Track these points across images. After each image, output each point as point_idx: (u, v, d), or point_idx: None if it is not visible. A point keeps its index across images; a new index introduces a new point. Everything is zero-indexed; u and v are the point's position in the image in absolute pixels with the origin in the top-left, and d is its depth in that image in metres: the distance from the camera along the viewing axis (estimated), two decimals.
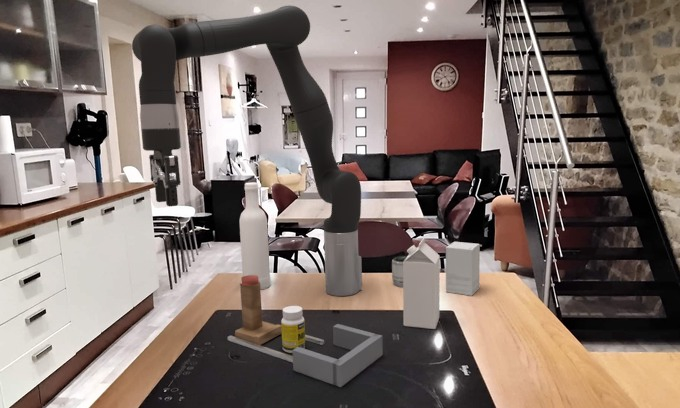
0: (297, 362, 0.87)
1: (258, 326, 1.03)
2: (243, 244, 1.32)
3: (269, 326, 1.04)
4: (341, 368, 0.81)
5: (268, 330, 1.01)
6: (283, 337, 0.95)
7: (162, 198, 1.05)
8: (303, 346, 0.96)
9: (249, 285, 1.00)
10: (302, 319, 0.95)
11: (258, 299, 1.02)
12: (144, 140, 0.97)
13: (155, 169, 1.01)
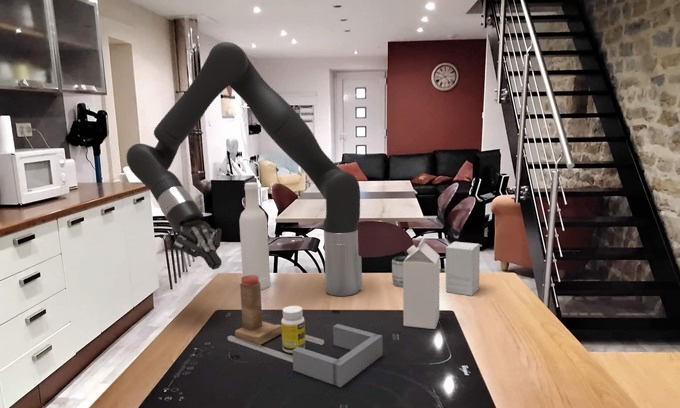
0: (297, 362, 0.87)
1: (258, 326, 1.03)
2: (243, 244, 1.32)
3: (269, 326, 1.04)
4: (341, 368, 0.81)
5: (268, 330, 1.01)
6: (283, 337, 0.95)
7: None
8: (303, 346, 0.96)
9: (249, 285, 1.00)
10: (302, 319, 0.95)
11: (258, 299, 1.02)
12: None
13: None
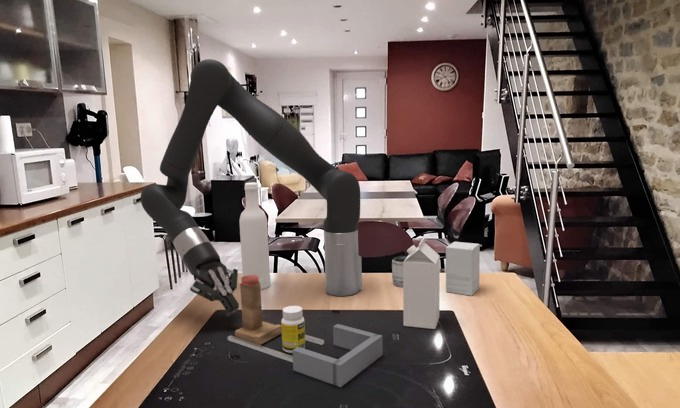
0: (297, 362, 0.87)
1: (258, 326, 1.03)
2: (243, 244, 1.32)
3: (269, 326, 1.04)
4: (341, 368, 0.81)
5: (268, 330, 1.01)
6: (283, 337, 0.95)
7: None
8: (303, 346, 0.96)
9: (249, 285, 1.00)
10: (302, 319, 0.95)
11: (258, 299, 1.02)
12: None
13: None
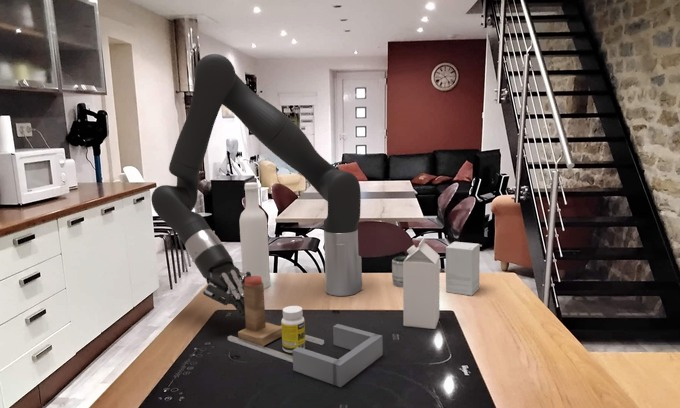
0: (297, 362, 0.87)
1: (261, 327, 1.02)
2: (243, 244, 1.32)
3: (272, 327, 1.03)
4: (341, 368, 0.81)
5: (271, 331, 1.00)
6: (283, 337, 0.95)
7: None
8: (303, 346, 0.96)
9: (252, 286, 1.00)
10: (302, 319, 0.95)
11: (261, 300, 1.02)
12: None
13: None
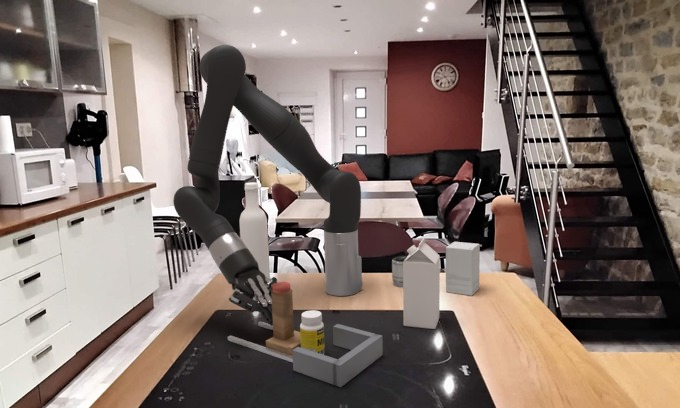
0: (297, 362, 0.87)
1: (290, 336, 0.98)
2: None
3: None
4: (341, 368, 0.81)
5: None
6: (302, 343, 0.92)
7: None
8: (322, 352, 0.93)
9: (281, 293, 0.95)
10: (321, 324, 0.92)
11: (290, 307, 0.97)
12: None
13: None
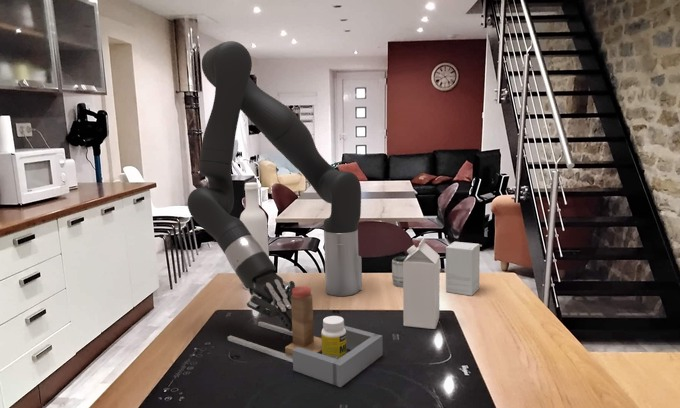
0: (297, 362, 0.87)
1: (310, 342, 0.95)
2: None
3: (321, 342, 0.95)
4: (341, 368, 0.81)
5: None
6: (323, 349, 0.89)
7: None
8: None
9: (301, 297, 0.92)
10: (344, 330, 0.89)
11: (310, 312, 0.94)
12: None
13: None
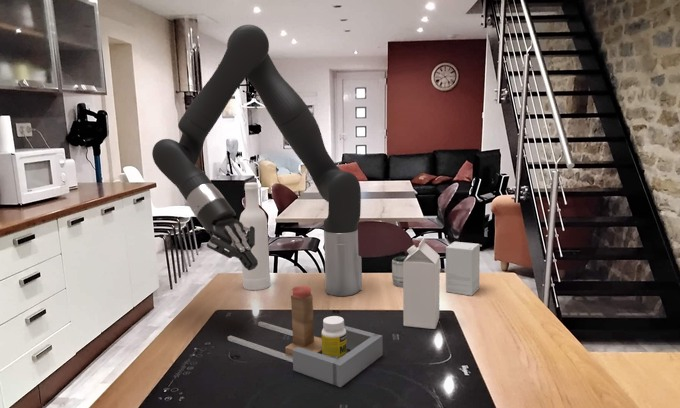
0: (297, 362, 0.87)
1: (310, 342, 0.95)
2: None
3: (321, 342, 0.95)
4: (341, 368, 0.81)
5: None
6: (324, 350, 0.89)
7: None
8: None
9: (301, 297, 0.92)
10: (344, 331, 0.89)
11: (310, 312, 0.94)
12: None
13: None
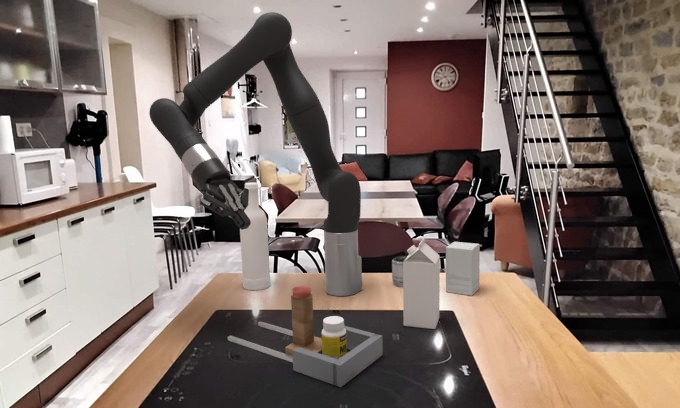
0: (297, 362, 0.87)
1: (310, 342, 0.95)
2: (243, 244, 1.32)
3: (321, 342, 0.95)
4: (341, 368, 0.81)
5: None
6: (324, 350, 0.89)
7: None
8: None
9: (301, 297, 0.92)
10: (344, 331, 0.89)
11: (310, 312, 0.94)
12: None
13: None
